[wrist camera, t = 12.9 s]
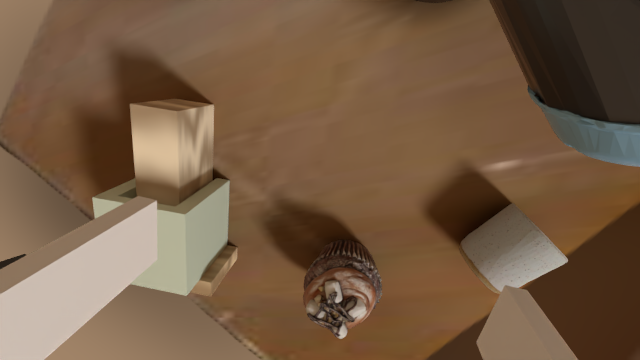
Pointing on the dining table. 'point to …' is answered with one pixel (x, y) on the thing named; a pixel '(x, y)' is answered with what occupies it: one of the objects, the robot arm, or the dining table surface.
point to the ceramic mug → (509, 250)
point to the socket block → (180, 234)
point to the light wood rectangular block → (172, 148)
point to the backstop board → (216, 272)
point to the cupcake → (341, 286)
